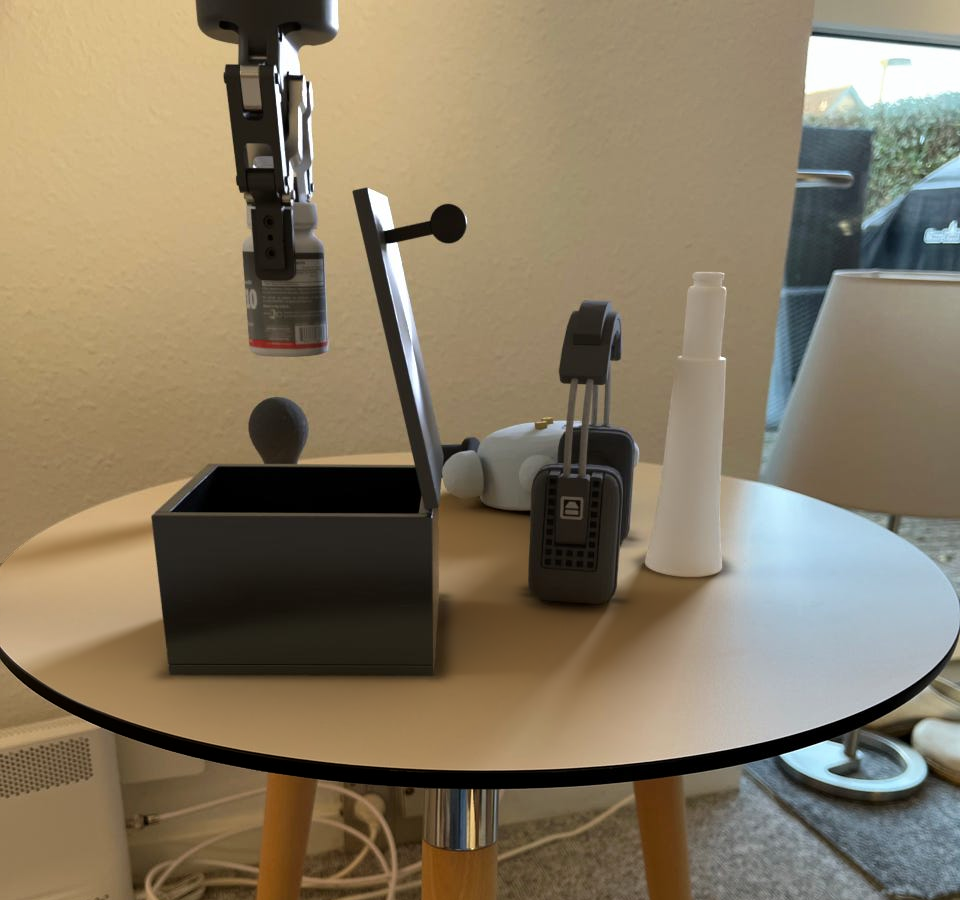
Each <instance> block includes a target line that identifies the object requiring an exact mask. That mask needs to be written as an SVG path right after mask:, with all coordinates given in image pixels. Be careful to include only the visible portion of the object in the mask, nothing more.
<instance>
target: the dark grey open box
mask: <svg viewBox="0 0 960 900" xmlns="http://www.w3.org/2000/svg"><path fill="white" fill-rule="evenodd" d="M150 518H151V526H152V527H151V529H152V535H153V536H152V537H153V545H154V553H155V563H156V571H157V578H158V588H159V596H160V605H161V615H162V622H163V630H164V631H163V632H164V640H165V649H166V657H167V664H168V665H167V667H168V674H169V676H316V677H317V676H321V677H324V676H325V677H326V676H330V677H332V676H335V677H337V676H338V677H339V676H340V677H343V676H345V677H346V676H347V677H348V676H349V677H350V676H351V677H352V676H353V677H354V676H355V677H359V676H360V677H366V676H367V677H368V676H369V677H384V676H385V677H402V676H403V677H433V676H434V674H435V663H436V662H435V660H436V648H437V647H436V646H437V634H438V633H437V632H438V617H439V606H440V605H439V604H440V556H439V554H440V536H439V535H440V534H439V533H440V530H439V529H440V528H439V527H440V524H439V507H438V508H435V509H430V510H425V507H424V503H423V499H422V494H421V490H420V486H419V481H418V477H417V473H416V468H415V464H351V463H350V464H347V463H346V464H343V463H342V464H341V463H338V464H337V463H336V464H333V463H331V464H330V463H329V464H328V463H327V464H326V463H323V464H322V463H321V464H320V463H319V464H318V463H308V464H307V463H297V464H264V463H207V464H206V465H205V466H204V467H203V468H202V469H200V471H198V473H196V474H195V475H193V477H192V478H191V479H190V480H188V481H187V482H186V483H185V484H184V485H183V486H182V487H181V488H180V489H178V491H176V492H175V493H174V494H173V495H172V496H171V497H170V498H169V499H168V500H166V501H165V502H164V503H163V504H162V505H161V506H160V507H159V508H158V509H157V510H156V511H154V513H152V515H151V517H150Z"/></svg>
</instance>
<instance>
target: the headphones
mask: <svg viewBox="0 0 960 900" xmlns="http://www.w3.org/2000/svg"><path fill="white" fill-rule="evenodd" d="M622 328H623V327H622V317H621V314H620V312H619V311H614V309H613V304H612V302H611V301H610V300H583V301H582V302H581V304H580V306H579V308H578V310H573V311H572V312H571V314H570V317H569V319H568V321H567V325H566V329H565V333H564V339H563V343H562V347H561V353H560V360H559V367H558V375H559V376H558V377H559V382H560V383H561V384H564V385H569V393H568V401H567V402H568V403H567V412H566V421H567V422H566V431H565V432H564V433H563V435H562V437H561V438H560V441H559V445H558V456H557V463H556V464H549V465H545V466H543V467H542V468H540V470H539V471H538V472H537V474H536V476H535V478H534V479H533V484H532V488H531V510H530V516H529V517H530V520H529V542H528V543H529V544H528V565H527V566H528V569H527V584H528V590H529V593H530V594H531V596H532V597H534V598H536V599H538V600H543V601H549V602H562V603H574V604H575V603H576V604H588V605H598V604H605V603H606V602H608V601H609V600H611V599H612V598H613V596H615V594H616V590H617V587H618V576H619V575H618V574H619V563H620V562H619V561H620V545H621V542H624V540H626V538H627V537H628V535H629V533H630V530H631V516H632V500H633V487H634V486H633V485H634V474H635V473H634V472H635V467H634V459H635V444H634V442H635V439H634V436H633V435H632V433H630V432H629V430H626V429H624V428H622V427H621V426H614V424H612V423H610V412H611V389H612V362H619V361H620V360H621V359H622V353H623V331H622V330H623V329H622ZM578 385H585V390H584V398H583V407H582V416H581V417H582V418H581V422H582V425H579V426H577V427H573V423H574V421H575V413H576V402H577V394H578V393H577V392H578ZM599 386H604V398H603V399H604V403H603V422H601V423H600V422H599V423H598V411H599V410H598V408H599V407H598V406H599ZM590 416H591V418H590ZM590 419H591V420H590ZM589 423H590V424H589Z"/></svg>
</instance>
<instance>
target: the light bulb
mask: <svg viewBox="0 0 960 900" xmlns="http://www.w3.org/2000/svg"><path fill="white" fill-rule="evenodd" d="M247 424H248V425H247V426H248V428H247V429H248V435H249V439H250V441H251V444H252V446H253V447H254V449H255V450H256V452H257V454H258V455H259V456H260V458H261V460H262V462H263V464H299V460H300V456H301V455H302V453H303V451H304V448H305V446H306V444H307V441H308V438H309V431H310V426H309V422H308V417H307V415H306V413H305V412H304V410H303V409H302V408H301V406H299V405H298V404H297V403H296V402H295V401H293V400H291V399H289V398H287V397H283V396H272V397H267V398H265V399H263V400H262V401H260V402H258V404H257V405H256V406H255V407H254V408H253V409H252V411H251V413H250V415H249V418H248V423H247Z"/></svg>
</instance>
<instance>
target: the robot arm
mask: <svg viewBox="0 0 960 900" xmlns="http://www.w3.org/2000/svg"><path fill="white" fill-rule="evenodd" d="M338 1H339V0H195V11H196V23H197V26H198V28H199V30H200V31H201V33H202V34H203V35H205V36H206V37H208V38H210V39H212V40H215V41H218V42H223V43H226V44H232V45H237V46H238V47H237V48H238V52H237V55H238V56H237V63H226V64H225V65H224V72H223V73H222V75H223V76H222V77H223V82H224V84H225V88H226V96H227V105H228V113H229V114H228V115H229V122H230V129H231V130H230V131H231V137H232V146H233V154H234V156H233V157H234V163H235V171H236V175H235V183H236V186H237V187H238V190H239V193H240V194H243V198H244V200H245V202H246V204H247V206H249V207H255V209H251V221H252V231H251V233H252V235H253V249H254V264H255V273H256V276H257V277H258V278H259V279H261V280H264V281H288V280H291V279H293V278H294V277H295V275H296V257H295V239H294V221H293V210H292V209H285V207H293V202H303V203H312V199H313V194H314V193H315V183H313V161H314V158H315V157H314V145H313V144H314V143H313V134H312V132H313V131H312V112H313V109H314V94H313V86H312V81H310V80H306V76H305V74H301V68H300V66H301V65H300V60H299V51H300V50H301V48H302V47H305V46H312V47H317V46H320V45H324V44H327V43H330V42H332V41H333V40H334V39H335V38H336V37H337V35H338V33H339V3H338ZM294 174H295V175H296V176H294Z"/></svg>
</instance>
